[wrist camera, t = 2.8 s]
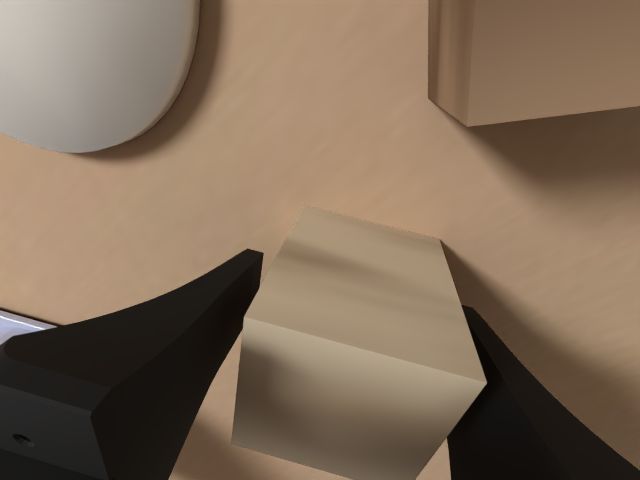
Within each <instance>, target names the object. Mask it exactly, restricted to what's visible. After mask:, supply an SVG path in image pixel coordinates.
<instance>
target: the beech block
mask: <svg viewBox="0 0 640 480" xmlns="http://www.w3.org/2000/svg"><path fill="white" fill-rule="evenodd" d="M486 384H487V381H486V378H485V375H484V372H483V369H482V366H481V363H480V360H479V357H478V354H477V351H476V348H475V345H474V342H473V339H472V336H471V333H470V330H469V327H468V324H467V321H466V318H465V315H464V312H463V309H462V306H461V303H460V300H459V297H458V294H457V291H456V288H455V285H454V282H453V279H452V276H451V273H450V270H449V267H448V264H447V261H446V258H445V255H444V252H443V249H442V246H441V243H440V240H439V239H438V238H434V237H430V236H426V235H422V234H418V233H414V232H410V231H406V230H402V229H398V228H394V227H390V226H386V225H382V224H378V223H374V222H371V221H367V220H363V219H359V218H355V217H351V216H347V215H343V214H339V213H335V212H331V211H327V210H323V209H319V208H315V207H311V206H307V205H304V206H303V208H302V210H301V212H300V214H299V216H298V218H297V219H296V221H295V223H294V225H293V227H292V229H291V231H290V232H289V234H288V236H287V238H286V240H285V242H284V244H283V245H282V247H281V249H280V251H279V253H278V255H277V257H276V258H275V260H274V262H273V264H272V266H271V268H270V270H269V271H268V273H267V275H266V277H265V279H264V281H263V283H262V284H261V286H260V288H259V290H258V292H257V294H256V296H255V297H254V299H253V301H252V303H251V305H250V307H249V309H248V310H247V312H246V314H245V316H244V322H243V332H242V342H241V352H240V362H239V372H238V382H237V392H236V402H235V412H234V422H233V432H232V442H231V444H234V445H237V446H240V447H244V448H247V449H251V450H254V451H258V452H261V453H264V454H268V455H271V456H275V457H278V458H281V459H285V460H288V461H292V462H295V463H299V464H302V465H305V466H309V467H312V468H316V469H319V470H323V471H326V472H329V473H333V474H336V475H340V476H343V477H347V478H350V479H353V480H415V479H416V478H417V476H418V475H419V474H420V472H421V471H422V470H423V468H424V467H425V466H426V464H427V463H428V462H429V460H430V459H431V458H432V456H433V455H434V454H435V452H436V451H437V450H438V448H439V447H440V446H441V444H442V443H443V441H444V440H445V439H446V437H447V436H448V435H449V433H450V432H451V431H452V429H453V428H454V427H455V425H456V424H457V423H458V421H459V420H460V419H461V417H462V416H463V415H464V413H465V412H466V411H467V409H468V408H469V407H470V405H471V404H472V403H473V401H474V400H475V398H476V397H477V396H478V394H479V393H480V392H481V390H482V389H483V388H484V386H485V385H486Z"/></svg>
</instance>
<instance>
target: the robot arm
mask: <svg viewBox="0 0 640 480" xmlns="http://www.w3.org/2000/svg"><path fill="white" fill-rule="evenodd" d="M263 254H264V253H262V252H258V251H255V250H251V249H246V250H244V251H243V252H241V253H239V254H238V255H236V256H234V257H233V258H231V259H230V260H228V261H226V262H225V263H223V264H222V265H220V266H218V267H216V268H215V269H213V270H211V271H210V272H208V273H206V274H204V275H203V276H201V277H199V278H197V279H195V280H193V281H191V282H189V283H187V284H185V285H184V286H182V287H179V288H177V289H175V290H173V291H171V292H168V293H166V294H164V295H161V296H159V297H156V298H154V299H151V300H149V301H146V302H143V303H140V304H137V305H134V306H131V307H129V308H126V309H123V310H120V311H117V312H114V313H110V314H107V315H103V316H100V317H96V318H93V319H89V320H85V321H81V322H77V323H73V324H69V325H64V326H60V327H57V326H54V325H50V324H47V323H43V322H40V321H36V320H32V319H29V318H25V317H22V316H18V315H15V314H11V313H8V312H4V311H1V310H0V480H168V479H169V477H170V474H171V472H172V470H173V467H174V465H175V463H176V460H177V458H178V456H179V453H180V451H181V449H182V446H183V444H184V442H185V440H186V437H187V435H188V433H189V431H190V428H191V426H192V424H193V422H194V419H195V417H196V415H197V413H198V411H199V408H200V406H201V404H202V402H203V400H204V398H205V396H206V393H207V391H208V389H209V387H210V385H211V383H212V381H213V379H214V377H215V375H216V373H217V371H218V370H219V368H220V366H221V365H222V363H223V361H224V359H225V358H226V356H227V354H228V353H229V351H230V349H231V348H232V346H233V344H234V343H235V341H236V339H237V337H238V336H239V334H240V332H241V331H242V329H243V322H244V316H245V314H246V312H247V310H248V309H249V307H250V305H251V303H252V301H253V299H254V297H255V296H256V294H257V292H258V290H259V286H260V278H261V270H262V262H263ZM461 306H462V309H463V312H464V315H465V318H466V321H467V324H468V327H469V330H470V333H471V336H472V339H473V342H474V345H475V348H476V351H477V354H478V357H479V360H480V363H481V366H482V369H483V372H484V375H485V378H486V381H487V384H486V385H485V386H484V388H483V389H482V390H481V392H480V393H479V394H478V396H477V397H476V398H475V400H474V401H473V403H472V404H471V405H470V407H469V408H468V409H467V411H466V412H465V413H464V415H463V416H462V417H461V419H460V420H459V421H458V423H457V424H456V425H455V427H454V428H453V429H452V431H451V432H450V433H449V435H448V436H447V442H448V449H449V459H450V471H451V480H640V470H638V469H637V468H636V467H634V466H633V465H632V464H631V463H629V462H628V461H627V460H626V459H624V458H623V457H622V456H620V455H619V454H618V453H617V452H616V451H614V450H613V449H612V448H611V447H610V446H608V445H607V444H606V443H605V442H604V441H602V440H601V439H600V438H599V437H598V436H596V435H595V434H594V433H593V432H592V431H590V430H589V429H588V428H587V427H586V426H585V425H584V424H583V423H581V422H580V421H579V420H578V419H577V418H576V417H575V416H574V415H573V414H572V413H570V412H569V411H568V410H567V409H566V408H565V407H564V406H563V405H562V404H561V403H560V402H559V401H558V400H557V399H555V398H554V397H553V396H552V395H551V394H550V393H549V392H548V391H547V390H546V389H545V388H544V387H543V386H542V385H541V384H540V382H539V381H538V380H537V379H536V378H535V377H534V376H533V375H532V374H531V373H530V372H529V371H528V370H527V369H526V368H525V367H524V366H523V364H522V363H521V362H520V361H519V360H518V359H517V358H516V357H515V356H514V354H513V353H512V352H511V351H510V350H509V349H508V348H507V346H506V345H505V344H504V343H503V342H502V341H501V339H500V338H499V337H498V336H497V335H496V334H495V332H494V331H493V330H492V329H491V328H490V327H489V325H488V324H487V323H486V322H485V321H484V320H483V318H482V317H481V316H480V315H479V314H478V313H477V312H476V311H475V310H474V309H473V308H472V307H468V306H464V305H461Z"/></svg>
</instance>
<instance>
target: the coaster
mask: <svg viewBox="0 0 640 480" xmlns="http://www.w3.org/2000/svg"><path fill="white" fill-rule="evenodd" d="M199 15H200V0H0V132H2V133H3V134H5V135H8V136H10V137H12V138H14V139H17V140H19V141H21V142H23V143H26V144H30V145H33V146H36V147H39V148H42V149H47V150H52V151H58V152H69V153H83V152H92V151H98V150H101V149H105V148H108V147H111V146H115V145H118V144H121V143H125V142H128V141H130V140H132V139H134V138H136V137H138V136H140V135H142V134H143V133H145V132H146V131H147V130H149V129H150V128H151V127H153V126H154V125H155V124H156V123H157V122H158V121H159V120H160V119H161V118H162V117H163V116H164V115H165V114H166V113H167V112H168V110H169V109H170V107H171V106H172V104H173V103H174V101H175V100H176V98H177V97H178V95H179V93H180V91H181V89H182V87H183V84H184V82H185V80H186V78H187V76H188V72H189V69H190V66H191V62H192V59H193V56H194V52H195V46H196V40H197V34H198V28H199Z"/></svg>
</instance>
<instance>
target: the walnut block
mask: <svg viewBox="0 0 640 480" xmlns="http://www.w3.org/2000/svg"><path fill="white" fill-rule="evenodd" d="M428 99H430V100H431V101H433V102H434V103H435V104H437V105H438V106H439V107H441V108H442V109H443V110H445V111H446V112H448V113H449V114H450V115H452V116H453V117H454V118H456V119H457V120H458V121H460V122H461V123H463V124H464V125H465V126H467V127H470V126H479V125H487V124H495V123H503V122H512V121H520V120H528V119H537V118H545V117H553V116H562V115H570V114H578V113H586V112H595V111H603V110H611V109H620V108H628V107H636V106H640V0H429V20H428Z"/></svg>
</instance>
